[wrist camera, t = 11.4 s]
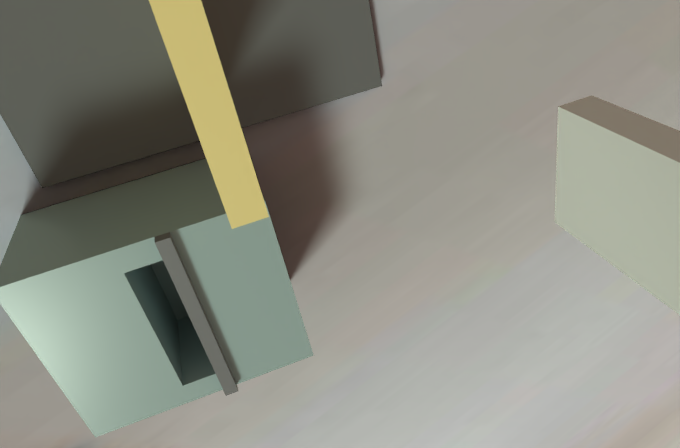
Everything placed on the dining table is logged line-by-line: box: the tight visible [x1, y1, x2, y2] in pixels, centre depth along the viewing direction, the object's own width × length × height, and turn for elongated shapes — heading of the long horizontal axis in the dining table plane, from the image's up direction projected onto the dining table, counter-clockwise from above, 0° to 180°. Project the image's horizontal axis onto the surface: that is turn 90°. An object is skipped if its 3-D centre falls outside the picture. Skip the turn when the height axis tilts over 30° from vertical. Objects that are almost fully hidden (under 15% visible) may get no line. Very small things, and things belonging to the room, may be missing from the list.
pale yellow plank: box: [149, 0, 269, 229], centre depth 24 cm, size 1×8×16 cm, turn 11°
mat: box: [0, 0, 382, 188], centre depth 31 cm, size 22×13×1 cm, turn 101°
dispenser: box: [0, 159, 313, 437], centre depth 34 cm, size 14×12×9 cm
